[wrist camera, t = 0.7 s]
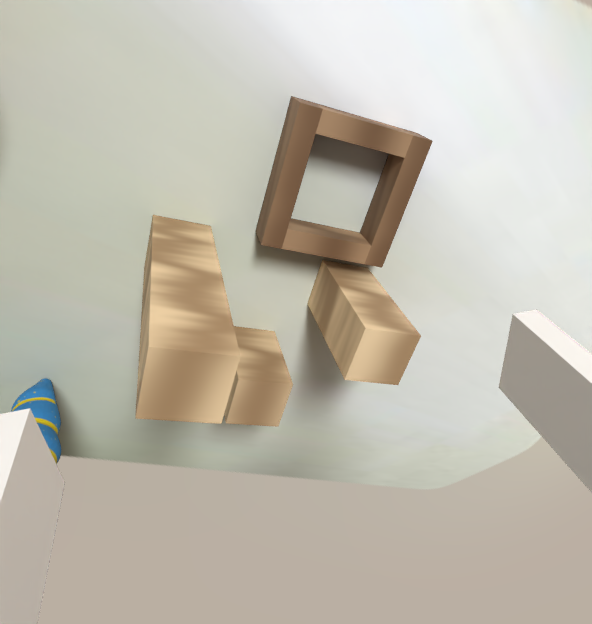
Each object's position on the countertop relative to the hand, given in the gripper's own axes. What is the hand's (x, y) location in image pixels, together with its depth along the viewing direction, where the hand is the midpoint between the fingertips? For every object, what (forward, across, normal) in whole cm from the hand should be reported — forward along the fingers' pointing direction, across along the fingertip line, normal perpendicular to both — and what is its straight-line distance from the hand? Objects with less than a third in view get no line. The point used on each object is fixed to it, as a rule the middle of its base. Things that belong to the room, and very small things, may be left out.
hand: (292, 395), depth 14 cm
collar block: (+24, +8, -2) cm, 25 cm away
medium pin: (+24, +8, -11) cm, 28 cm away
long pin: (+24, -4, -5) cm, 25 cm away
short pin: (+24, 0, -15) cm, 29 cm away
